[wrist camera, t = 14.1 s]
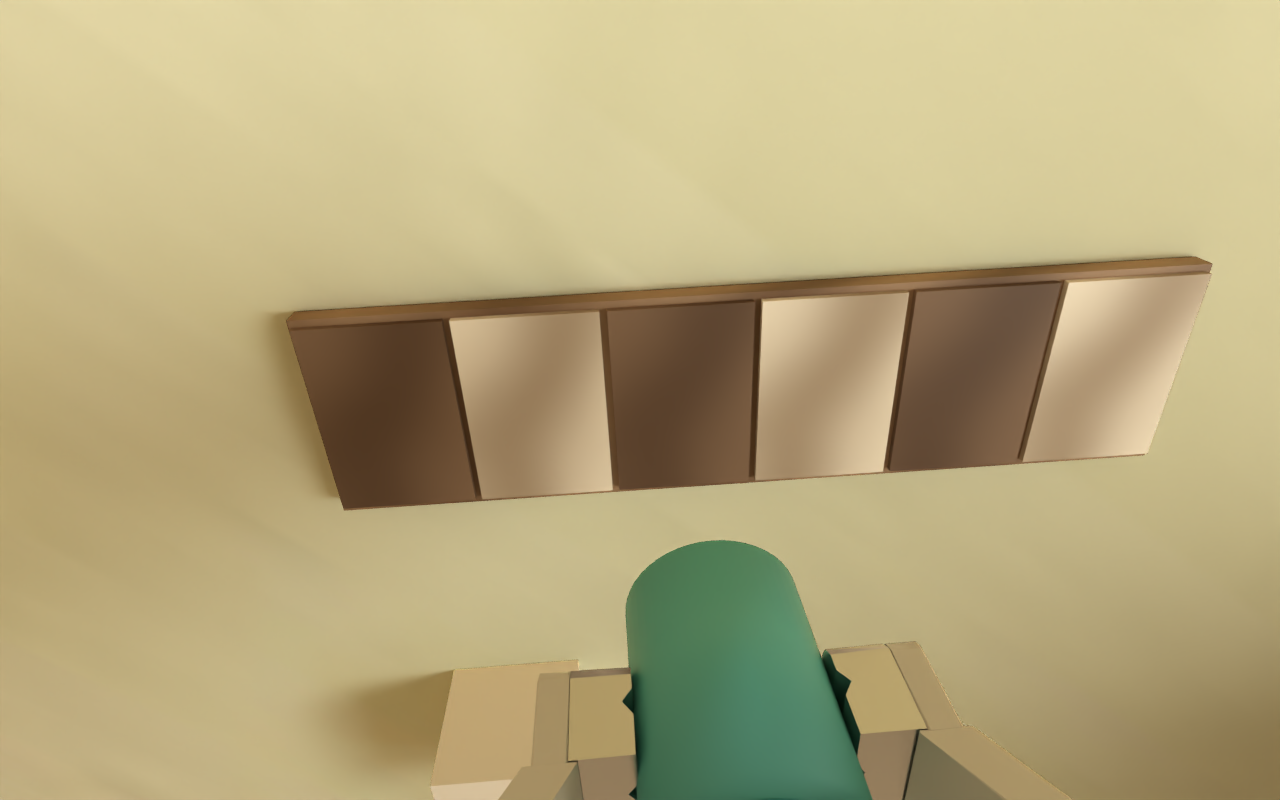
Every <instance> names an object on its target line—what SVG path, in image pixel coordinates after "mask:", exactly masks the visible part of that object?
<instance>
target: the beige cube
mask: <svg viewBox="0 0 1280 800" xmlns="http://www.w3.org/2000/svg"><path fill="white" fill-rule="evenodd" d="M568 671H580V670H579V662H578V660H568V661H556V662H543V663H531V664H518V665H506V666H493V667H481V668H468V669H456V670H454V672H453V677H452V682H451V687H450V692H449V696H448V701H447V706H446V711H445V716H444V720H443V725H442V730H441V735H440V740H439V744H438V749H437V754H436V759H435V764H434V768H433V773H432V778H431V783H430V789H431V792H432V795H433V798H434V800H498V799H499V798H500V796H501V795H502V794H503V792H504V791H505V789H506V788H507V787H508V785H509V784H510V783H511V781H512V780H513V778H514V777H515V776H516V774H517V773H518V771H519V770H520V769H521V767H526V766H531V758H532V745H533V732H534V719H535V705H536V692H537V682H538V678H539V675H540V673H554V672H568Z"/></svg>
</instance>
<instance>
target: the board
mask: <svg viewBox="0 0 1280 800" xmlns="http://www.w3.org/2000/svg"><path fill="white" fill-rule="evenodd" d="M1211 267H1212V263H1210V262H1207V261H1205V260H1203V259H1200V258H1198V257H1183V258H1166V259H1150V260H1134V261H1117V262H1101V263H1085V264H1069V265H1052V266H1036V267H1020V268H1003V269H987V270H971V271H954V272H938V273H922V274H905V275H889V276H873V277H856V278H840V279H824V280H808V281H791V282H775V283H759V284H742V285H726V286H710V287H693V288H677V289H661V290H644V291H628V292H612V293H595V294H579V295H563V296H547V297H530V298H514V299H498V300H481V301H465V302H449V303H432V304H416V305H400V306H383V307H367V308H351V309H334V310H318V311H302V312H294V313H293V314H292V315H291V316H290V317H289V318H288V319H287V320H286V322H287V326H288V329H289V332H290V336H291V339H292V342H293V345H294V349H295V352H296V355H297V358H298V362H299V365H300V368H301V371H302V375H303V378H304V381H305V385H306V388H307V391H308V394H309V398H310V401H311V404H312V407H313V411H314V414H315V417H316V420H317V424H318V427H319V430H320V433H321V437H322V440H323V443H324V447H325V450H326V453H327V456H328V460H329V463H330V466H331V469H332V473H333V476H334V479H335V482H336V486H337V489H338V492H339V496H340V499H341V502H342V505H343V509H344V510H357V509H372V508H386V507H401V506H415V505H430V504H444V503H459V502H473V501H488V500H502V499H517V498H531V497H546V496H560V495H575V494H589V493H604V492H618V491H633V490H647V489H662V488H676V487H691V486H705V485H720V484H734V483H749V482H763V481H778V480H792V479H807V478H821V477H835V476H850V475H864V474H879V473H893V472H908V471H922V470H937V469H951V468H966V467H980V466H995V465H1009V464H1024V463H1038V462H1053V461H1067V460H1082V459H1096V458H1111V457H1125V456H1140V455H1145V454H1148V451H1149V448H1150V445H1151V442H1152V440H1153V437H1154V434H1155V431H1156V429H1157V426H1158V423H1159V420H1160V417H1161V415H1162V412H1163V409H1164V406H1165V403H1166V401H1167V398H1168V395H1169V392H1170V390H1171V387H1172V384H1173V381H1174V378H1175V376H1176V373H1177V370H1178V367H1179V364H1180V362H1181V359H1182V356H1183V353H1184V351H1185V348H1186V345H1187V342H1188V339H1189V337H1190V334H1191V331H1192V328H1193V326H1194V323H1195V320H1196V317H1197V314H1198V312H1199V309H1200V306H1201V303H1202V300H1203V298H1204V295H1205V292H1206V289H1207V287H1208V284H1209V281H1210V278H1211V275H1212V274H1211V273H1210V270H1211Z"/></svg>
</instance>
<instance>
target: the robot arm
mask: <svg viewBox="0 0 1280 800" xmlns="http://www.w3.org/2000/svg"><path fill="white" fill-rule="evenodd" d="M822 661H823V663H824V666H825V669H826V672H827V674H828V677H829V680H830V683H831V685H832V688H833V691H834V694H835V697H836V699H837V702H838V705H839V708H840V710H841V713H842V716H843V719H844V722H845V724H846V727H847V730H848V733H849V735H850V738H851V741H852V744H853V746H854V749H855V752H856V755H857V758H858V760H859V763H860V766H861V769H862V771H863V774H864V777H865V780H866V783H867V785H868V788H869V791H870V794H871V796H872V799H873V800H1073V799H1071V798H1070V797H1069V796H1067V795H1066V794H1065V793H1063V792H1062V791H1060V790H1059V789H1058V788H1056V787H1055V786H1054V785H1052V784H1051V783H1050V782H1048V781H1047V780H1045V779H1044V778H1043V777H1041V776H1040V775H1039V774H1037V773H1036V772H1035V771H1033V770H1032V769H1030V768H1029V767H1028V766H1026V765H1025V764H1024V763H1022V762H1021V761H1020V760H1018V759H1017V758H1015V757H1014V756H1013V755H1011V754H1010V753H1009V752H1007V751H1006V750H1005V749H1003V748H1002V747H1000V746H999V745H998V744H996V743H995V742H994V741H992V740H991V739H990V738H988V737H987V736H985V735H984V734H983V733H981V732H980V731H979V730H977V729H976V728H975V727H973V726H963V725H962V723H961V721H960V719H959V717H958V716H957V714H956V712H955V710H954V708H953V706H952V704H951V702H950V700H949V699H948V697H947V695H946V693H945V691H944V689H943V687H942V685H941V683H940V682H939V680H938V678H937V676H936V674H935V672H934V670H933V668H932V667H931V665H930V663H929V661H928V659H927V657H926V655H925V653H924V651H923V650H922V648H921V646H920V645H919V644H918V643H917V642H915V641H914V642H902V643H891V644H884V645H883V644H874V645H864V646H854V647H845V648H835V649H825V651H824V653H823V655H822ZM633 713H634V705H633V692H632V678H631V667H630V668H614V669H597V670H581V671H568V672H554V673H540V675H539V678H538V682H537V692H536V705H535V719H534V732H533V745H532V758H531V766H526V767H521V769H520V770H519V771H518V773H517V774H516V776H515V777H514V778H513V780H512V781H511V783H510V784H509V785H508V787H507V788H506V789H505V791H504V792H503V794H502V795H501V796H500V798H499V799H498V800H637V788H636V786H637V781H638V769H637V752H636V736H635V725H634V714H633Z"/></svg>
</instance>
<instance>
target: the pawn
mask: <svg viewBox="0 0 1280 800" xmlns="http://www.w3.org/2000/svg"><path fill="white" fill-rule="evenodd" d="M626 628H627V644H628V660H629V668H630V667H631V678H632V692H633V705H634V713H633V714H634V725H635V736H636V752H637V769H638V781H637V786H636V788H637V800H873V799H872V796H871V794H870V791H869V788H868V785H867V783H866V780H865V777H864V774H863V771H862V769H861V766H860V763H859V760H858V758H857V755H856V752H855V749H854V746H853V744H852V741H851V738H850V735H849V733H848V730H847V727H846V724H845V722H844V719H843V716H842V713H841V710H840V708H839V705H838V702H837V699H836V697H835V694H834V691H833V688H832V685H831V683H830V680H829V677H828V674H827V672H826V669H825V666H824V663H823V661H822V658H821V655H820V652H819V649H818V647H817V644H816V641H815V638H814V636H813V633H812V630H811V627H810V624H809V622H808V619H807V616H806V613H805V611H804V608H803V605H802V602H801V600H800V597H799V594H798V591H797V588H796V586H795V583H794V580H793V578H792V576H791V574H790V572H789V571H788V569H787V568H786V567H785V566H784V565H783V563H782V562H781V561H779V560H778V559H777V558H776V557H775V556H773V555H772V554H770V553H768V552H767V551H765V550H763V549H761V548H758V547H756V546H753V545H750V544H746V543H742V542H736V541H725V540H719V541H705V542H699V543H694V544H690V545H687V546H684V547H681V548H678V549H676V550H673V551H671V552H669V553H667V554H665V555H664V556H662V557H660V558H659V559H657V560H656V561H654V562H653V563H652V564H651V565H649V566H648V567H647V568H646V569H645V570H644V571H643V572H642V573H641V574H640V576H639V577H638V578H637V580H636V581H635V582H634V584H633V586H632V588H631V590H630V592H629V595H628V598H627V603H626Z"/></svg>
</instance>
